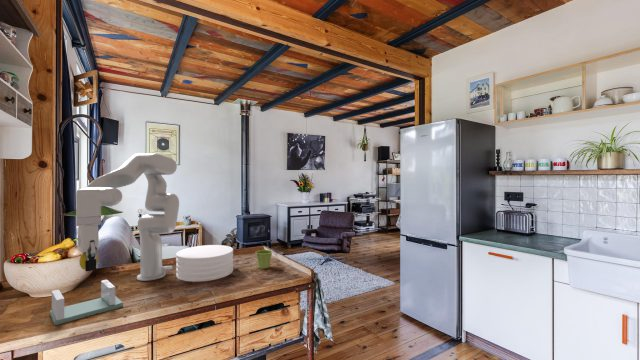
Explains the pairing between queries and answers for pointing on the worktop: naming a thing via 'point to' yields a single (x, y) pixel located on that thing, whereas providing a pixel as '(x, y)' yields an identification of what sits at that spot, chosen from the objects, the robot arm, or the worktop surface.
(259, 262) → the plant pot
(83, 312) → the vise base
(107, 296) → the vise jaw
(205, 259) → the plate stack
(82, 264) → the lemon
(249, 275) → the worktop surface
